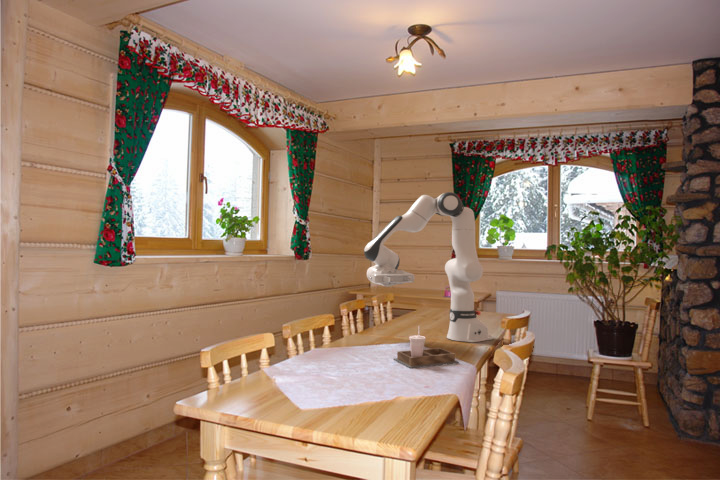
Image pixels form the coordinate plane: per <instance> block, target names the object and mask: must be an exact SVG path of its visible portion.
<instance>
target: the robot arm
mask: <svg viewBox="0 0 720 480" xmlns="http://www.w3.org/2000/svg"><path fill="white" fill-rule="evenodd" d="M435 214H436V215H439V216H441V217H450V220H451V223H452V226H451V247H452V249H453V250H454V253H455V258H450V259H449V260H447V261H446V263H445V265H444V273H445V274H446V276H447V279H448V284H449V289H450V308H449V327H448V331H447V334H446V338H447V339H448V340H452V341H457V342H466V343H467V342H468V343H479V342H483V341H489V340H493V339H494V338H493V336H492V335H489V330H488V327H487V325H486V324H485V323H484V322H483V321H481V320H480V319H479V318H478V316H481V314H482V311H481V310H475V293H474V291H473V289H472V286H471V283H473V282H477V281H479V280H480V279H481V278H482V276H483V274H484V269H483V265H482V264H481V262H480V261H479V257H478V253H477V252H478V251H477V248H476V218H475V213H474V211H473V209H471V208H470V207H469V206H468V207H467V206H464V204H463V202H462V200H461V198H460V196H458V194H456V193H455V192H453V191H447V192H443V193H442V194H440V195H439V196H437V197H433V196H431V195H428V194H422V195H420V196H419V197H418V198H417V199H416V200H415V201H414V203H413V204H412V205H411V206H410V208H409V209H408V210H407V211H406V212H405V213H404V214H403V215H397V216H395V217H394V218H393V219H392V220H391V221H389V223H388V224H386V226H384V227H383V229H382V230H380V231H379V233H377V235H376V236H375V237H373V239H371V240H370V241H369V242H367V244H366V245H365V247H364V248H363V253H364V257H365V259H367V260H368V261H370V262H371V263H374V265H373V266H370V267H368V268H367V270H366V278H367V279H368V281H369V282H370V283H373V284H374V285H379V286H381V287H382V286H383V287H387V288H389V287H392V286H396V285H403V284H405V283H414V282H415V279H416V278H415V274H414V273H411V272H408V271H405V270H404V269H399V266H400V261H401V260H400V256H399V254H397V253H396V252H395V251H393V250H392V249H390V248H388V247H387V246H386V245H384V243H385V242H386V241H387V240H388V239H389V238H390V237H391V236H392V235H393V234H394V233H396V232H398V231H402V232H408V233H418V232H421V231H422V230H424V228H425V227H426V226H427V225H428V222H429V221H430V219H432V217H433V216H434V215H435Z"/></svg>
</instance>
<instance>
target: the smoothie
mask: <svg viewBox="0 0 720 480" xmlns="http://www.w3.org/2000/svg"><path fill="white" fill-rule="evenodd" d="M420 327H421V326H420V325H418V326H417V328H418V329H417V330H418V331H417V334H414V335H409V337H408V339H409V344H410V346H409V347H410V350H411V357H419V356H422V355H423V349H425V348H424V347H425V341H426V336H423V335H420V334H421V331H420V330H421V328H420Z"/></svg>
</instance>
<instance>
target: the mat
mask: <svg viewBox="0 0 720 480" xmlns="http://www.w3.org/2000/svg"><path fill="white" fill-rule="evenodd" d="M393 361H395V362H397V363H399V364H400V365H402V366H405V367H406V368H408V369H416V368H417V369H418V368H425V367H427V368H428V367H434V366H435V367H436V365H438V366H444V365H443V364H447V365H454V364H453V363H456V364H460V362H459V361H458V360H455V361H454V362H444V363H435V364H425V365H415V366H410V365H408V364H406V363H404V362H402V361H400V360H398V359H397V357H396V358H395V357H394V358H393Z"/></svg>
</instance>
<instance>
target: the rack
mask: <svg viewBox="0 0 720 480" xmlns="http://www.w3.org/2000/svg"><path fill="white" fill-rule="evenodd" d="M396 354H397V355H396V358H397V359H398V360H400V361H402V362H404V363H406V364H408V365H410V366H415V365H425V364H435V363H444V362H454V361H456V353H455V352H451V351H450V350H447V349H444V348H443V347H442V348H441V347H434V348H433V347H431V348H424V349H423V355H422V356H419V357H411V349H410V350H402V351H401V350H400V351H397V353H396Z"/></svg>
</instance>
